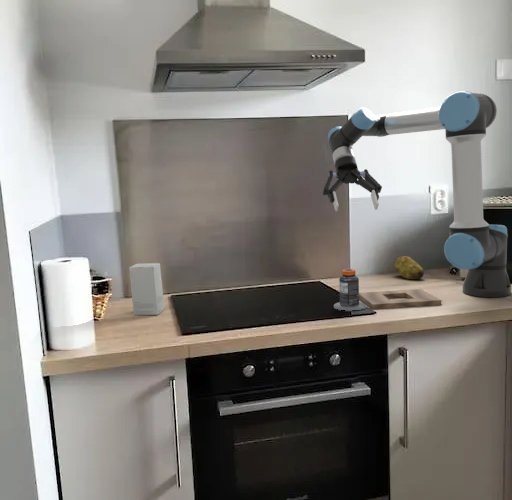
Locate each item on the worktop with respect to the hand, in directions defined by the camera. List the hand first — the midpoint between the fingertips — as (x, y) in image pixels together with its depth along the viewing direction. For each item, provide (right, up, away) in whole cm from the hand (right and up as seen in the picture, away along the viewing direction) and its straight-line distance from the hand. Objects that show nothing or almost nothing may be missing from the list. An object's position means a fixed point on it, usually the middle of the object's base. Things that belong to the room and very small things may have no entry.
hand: (357, 207), depth 188 cm
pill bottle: (-4, -32, -12) cm, 34 cm away
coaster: (-4, -32, -12) cm, 34 cm away
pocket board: (+12, -31, -6) cm, 33 cm away
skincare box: (-68, -34, -10) cm, 77 cm away
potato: (+25, -25, +29) cm, 46 cm away
